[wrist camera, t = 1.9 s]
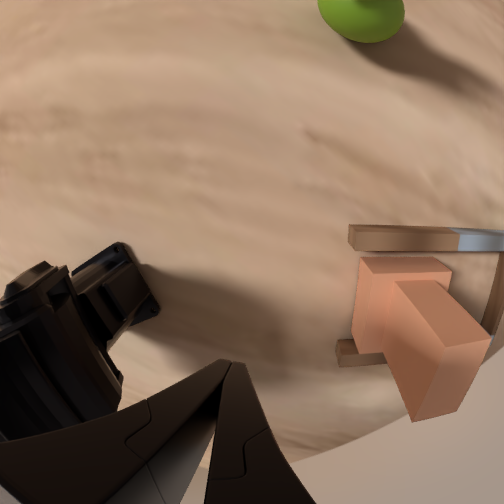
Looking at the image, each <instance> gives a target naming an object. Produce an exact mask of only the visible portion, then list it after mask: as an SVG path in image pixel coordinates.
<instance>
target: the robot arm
mask: <svg viewBox="0 0 504 504" xmlns="http://www.w3.org/2000/svg"><path fill="white" fill-rule="evenodd" d="M116 247H118V248H119V251H117V250H116ZM68 273H69V270H68V268H67V266H66V265H64V266H61V267H57V266H55V267H53V266H51V265H50V264H48V263H47V262H46V261H43V262H41V263H39V264H37V265H35V266H33V267H32V268H30V269H28V270H26V271H25V272H23V273H22V274H20V275H19V276H18V277H16V278H15V279H14V280H12V281H11V282H10V283H9V284H7V285H6V289H5V293H4V296H3V297H2V298H1V299H0V504H180V502H181V500H182V498H183V496H184V494H185V492H186V490H187V488H188V486H189V484H190V482H191V480H192V478H193V476H194V474H195V472H196V469H197V468H198V465H199V463H200V461H201V459H202V457H203V455H204V453H205V451H206V449H207V447H208V444H209V442H210V440H211V438H212V436H213V434H214V432H215V434H214V441H213V447H212V453H211V460H210V466H209V473H208V479H207V486H206V492H205V499H204V504H316V503H315V501H314V500H313V498H312V497H311V496H310V494H309V493H308V491H307V490H306V489H305V487H304V486H303V484H302V483H301V481H300V480H299V478H298V477H297V476H296V474H295V473H294V471H293V470H292V468H291V467H290V465H289V464H288V462H287V460H286V459H285V457H284V455H283V454H282V452H281V450H280V448H279V446H278V444H277V442H276V440H275V438H274V435H273V433H272V431H271V429H270V427H269V424H268V422H267V419H266V417H265V414H264V412H263V409H262V407H261V404H260V402H259V399H258V397H257V394H256V391H255V389H254V386H253V384H252V381H251V378H250V376H249V373H248V370H247V368H246V365H245V364H244V363H240V362H231V361H229V360H224V359H219V360H217V361H215V362H213V363H212V364H210V365H208V366H206V367H205V368H203V369H201V370H199V371H198V372H196V373H194V374H192V375H190V376H189V377H187V378H185V379H183V380H181V381H179V382H178V383H176V384H174V385H172V386H170V387H168V388H166V389H164V390H162V391H161V392H159V393H157V394H155V395H153V396H151V397H149V398H147V400H146V399H144V400H142V401H140V402H138V403H136V404H134V405H132V406H129V407H127V408H125V409H123V410H120V411H117V409H118V405H119V403H120V400H121V396H122V383H123V378H124V376H123V375H122V373H121V372H120V371H119V370H118V369H117V368H116V366H115V364H114V363H113V361H112V359H111V358H110V356H109V354H108V353H107V352H108V351H109V350H110V348H111V347H112V346H113V345H114V343H115V342H116V341H117V340H118V339H119V337H120V336H121V335H122V334H123V332H124V331H125V330H126V329H127V328H128V327H129V326H132V325H134V324H137V323H139V322H142V321H144V320H147V319H149V318H152V317H154V316H157V315H158V314H159V312H160V306H159V305H158V303H157V302H156V300H155V298H154V297H153V295H152V294H151V292H150V289H149V288H148V286H147V285H146V283H145V281H144V280H143V278H142V276H141V275H140V273H139V271H138V269H137V268H136V266H135V264H133V262H132V260H131V259H130V257H129V255H128V253H127V251H126V250H125V248H124V246H123V245H122V243H120V242H116V243H114V244H112V245H111V246H109V247H108V248H106V249H104V250H103V251H101V252H100V253H98V254H97V255H95V256H94V257H92V258H91V259H89V260H88V261H86V262H85V263H83V264H82V265H80V266H79V267H78V268H76V269H75V270H73V271H72V273H71V275H72V277H71V278H70V277H69V274H68ZM152 308H154V309H155V310H156V311H154V310H153V309H152Z"/></svg>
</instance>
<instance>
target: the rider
mask: <svg viewBox="0 0 504 504" xmlns="http://www.w3.org/2000/svg"><path fill="white" fill-rule="evenodd" d="M451 275H452V271H451V270H449V269H448V268H447V267H446V266H444V265H443V264H442V263H440V262H439V261H438V260H436V259H435V258H434V257H360V266H359V275H358V284H357V292H356V300H355V307H354V314H353V320H352V327H351V332H352V335H353V338H354V341H355V344H356V347H357V349H358V352H359V354H368V353H380V352H383V354H384V356H385V358H386V360H387V363H388V365H389V367H390V370H391V372H392V374H393V377H394V379H395V381H396V384H397V386H398V388H399V391H400V393H401V396H402V398H403V401H404V403H405V406H406V408H407V411H408V413H409V416H410V418H411V421H412V422H416V421H421V420H425V419H429V418H434V417H437V416H441V415H445V414H449V413H452V412H455V411H457V409H458V407H459V406H460V404H461V402H462V401H463V399H464V397H465V395H466V393H467V391H468V389H469V387H470V386H471V384H472V382H473V380H474V378H475V376H476V374H477V372H478V370H479V367H480V365H481V363H482V361H483V359H484V356H485V354H486V352H487V349H488V347H489V345H490V342H491V340H492V338H491V336H490V335H489V334H488V333H487V332H486V331H485V330H484V329H483V328H482V327H481V326H480V325H479V324H478V323H477V322H476V320H475V319H474V318H473V317H472V316H471V315H470V314H469V313H468V312H467V311H466V310H465V309H464V308H463V307H462V306H461V305H460V304H459V303H458V302H457V301H456V300H455V299H454V298H453V297H452V296H450V295H449V294H448V293H447V292H448V288H449V284H450V279H451Z"/></svg>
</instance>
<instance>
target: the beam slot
mask: <svg viewBox="0 0 504 504" xmlns="http://www.w3.org/2000/svg"><path fill="white" fill-rule="evenodd" d="M348 242H349V244H350V245H351V246H352V248H353V249H354V250H355V251H500V255H499V260H498V265H497V269H496V274H495V278H494V282H493V286H492V290H491V293H490V297H489V300H488V304H487V307H486V310H485V313H484V316H483V320H482V322H481V325H480V326H481V327H482V328H483V329H484V330H485V331H486V332H487V333H488V334H489V335H490V336H491V338H492V340H491V342H490V345H489V346H491V343H492V341H493V338H494V336H495V333H496V330H497V328H498V325H499V322H500V319H501V316H502V314H503V310H504V230H488V229H470V228H449V227H425V226H394V225H349V234H348ZM336 355H337V359H338V364H339V367H352V366H365V365H376V364H387V360H386V358H385V356H384V354H383V352H380V353H368V354H359V352H358V349H357V347H356V344H355V341H354V339H345V340H337V346H336Z"/></svg>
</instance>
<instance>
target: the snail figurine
mask: <svg viewBox="0 0 504 504" xmlns="http://www.w3.org/2000/svg"><path fill="white" fill-rule="evenodd" d="M317 1H318V7H319V10H320V13H321V15H322V17H323V19H324V20H325V21H326V23H327V24H328V25H329V26H330V27H331V28H332V29H333V30H334V31H336V32H337V33H339V34H340V35H342V36H344V37H346V38H348V39H350V40H353V41H357V42H363V43H375V42H380V41H384V40H386V39H388V38H390V37H392V36H393V35H394V34H396V33H397V31H398V30H399V29H400V27H401V26H402V24H403V21H404V15H405V10H404V4H403V1H402V0H317Z"/></svg>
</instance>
